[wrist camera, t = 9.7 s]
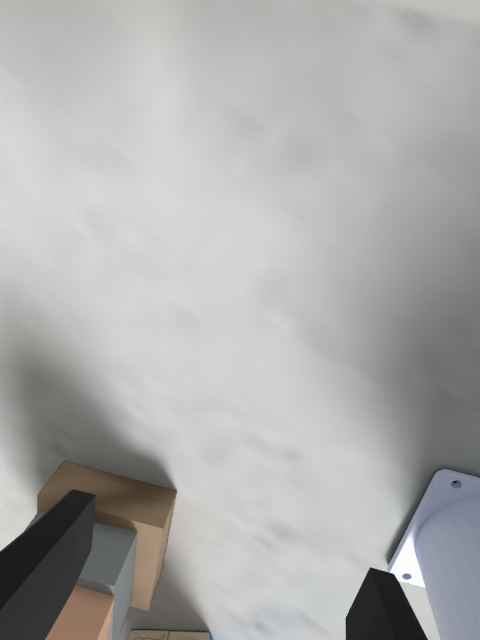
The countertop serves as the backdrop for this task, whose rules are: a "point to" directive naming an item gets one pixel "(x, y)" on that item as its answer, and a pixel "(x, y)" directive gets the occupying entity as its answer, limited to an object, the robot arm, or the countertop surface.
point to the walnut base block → (122, 516)
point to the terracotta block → (83, 616)
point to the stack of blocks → (167, 635)
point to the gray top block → (110, 569)
